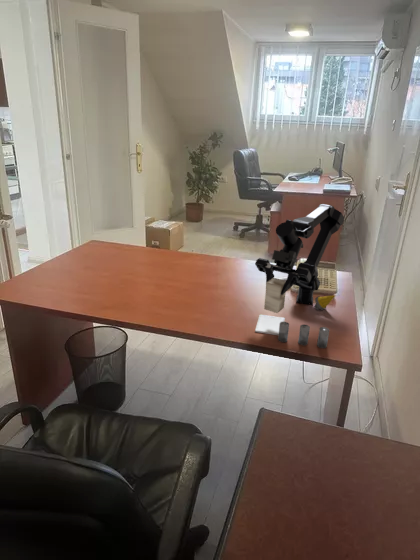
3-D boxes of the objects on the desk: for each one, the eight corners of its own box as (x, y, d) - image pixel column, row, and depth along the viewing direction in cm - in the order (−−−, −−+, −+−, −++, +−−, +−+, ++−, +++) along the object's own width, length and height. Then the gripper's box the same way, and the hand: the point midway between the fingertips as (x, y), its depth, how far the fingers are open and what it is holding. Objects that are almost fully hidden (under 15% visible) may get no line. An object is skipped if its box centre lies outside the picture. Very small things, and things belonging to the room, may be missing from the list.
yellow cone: (317, 304, 156) (339, 293, 150) (318, 315, 153) (340, 304, 147) (308, 298, 154) (330, 286, 148) (309, 309, 151) (331, 297, 145)
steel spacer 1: (278, 336, 132) (280, 321, 130) (287, 338, 132) (289, 322, 129) (277, 341, 130) (279, 325, 127) (286, 342, 129) (288, 326, 127)
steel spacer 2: (317, 342, 130) (319, 326, 127) (326, 344, 129) (329, 327, 127) (317, 347, 127) (319, 331, 124) (326, 348, 126) (329, 332, 124)
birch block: (270, 303, 139) (273, 277, 135) (283, 307, 137) (286, 281, 133) (264, 309, 135) (266, 282, 131) (277, 313, 133) (280, 286, 129)
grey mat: (259, 315, 146) (259, 314, 145) (284, 319, 144) (284, 317, 143) (255, 331, 135) (255, 330, 135) (281, 335, 133) (281, 334, 133)
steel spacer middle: (298, 339, 131) (300, 323, 128) (307, 341, 130) (309, 325, 128) (297, 344, 128) (300, 328, 126) (307, 346, 127) (309, 329, 125)
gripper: (259, 235, 135) (242, 275, 130) (312, 245, 125) (296, 289, 121) (267, 251, 144) (251, 289, 140) (317, 262, 135) (302, 303, 130)
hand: (274, 292), depth 132 cm, fingers closed on birch block, 5 cm apart
